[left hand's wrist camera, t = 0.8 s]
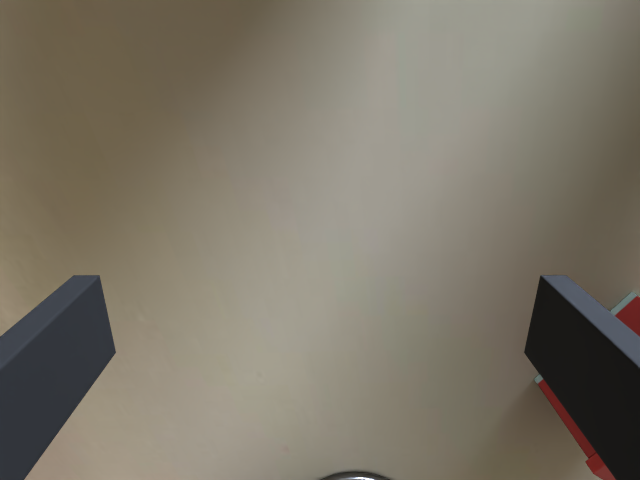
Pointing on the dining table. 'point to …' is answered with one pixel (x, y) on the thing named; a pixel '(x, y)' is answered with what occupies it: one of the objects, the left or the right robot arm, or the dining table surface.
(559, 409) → the red box
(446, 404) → the dining table surface
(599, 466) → the lid
